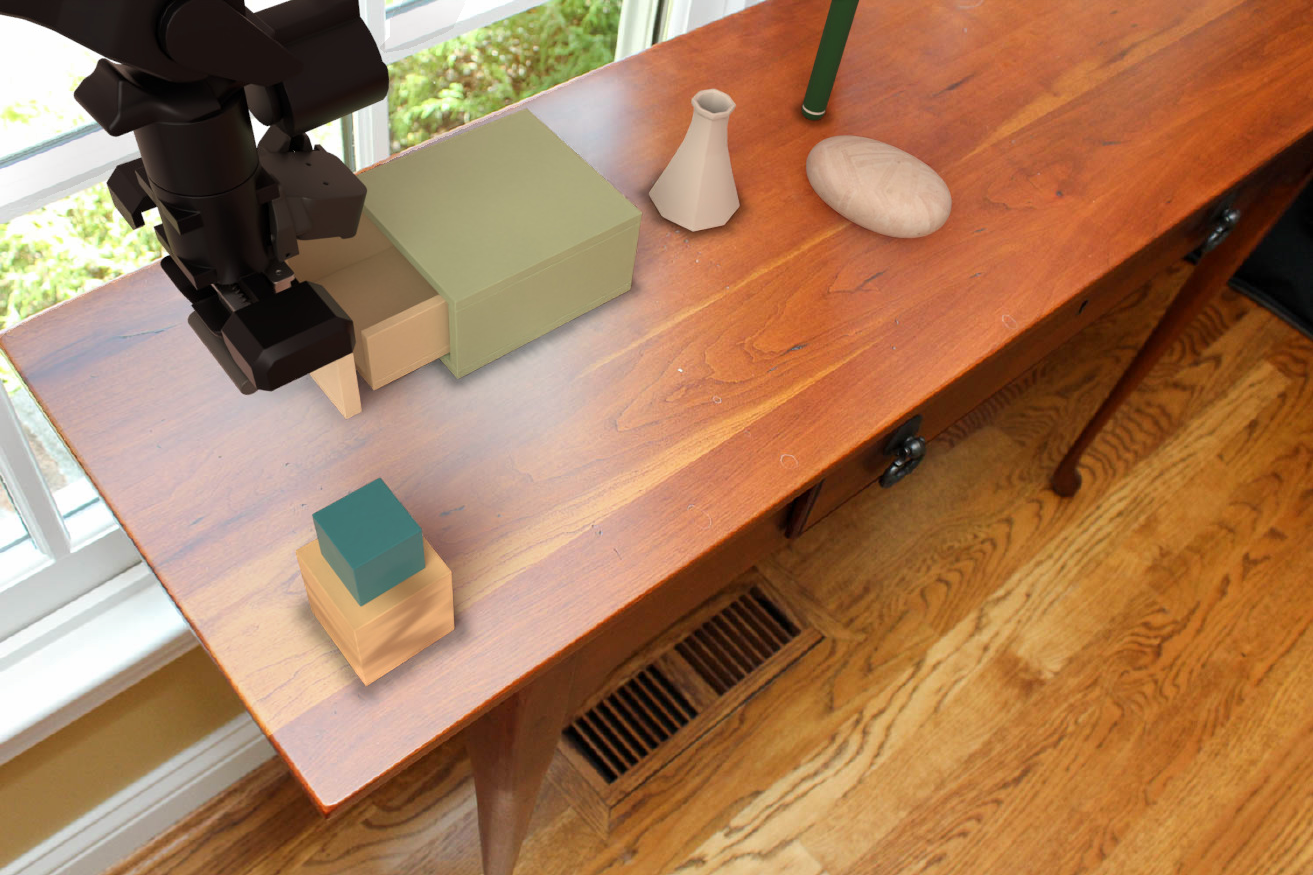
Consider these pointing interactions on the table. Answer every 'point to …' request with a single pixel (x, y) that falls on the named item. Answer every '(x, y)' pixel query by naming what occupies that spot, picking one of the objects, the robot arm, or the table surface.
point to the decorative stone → (878, 186)
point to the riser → (380, 613)
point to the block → (370, 541)
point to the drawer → (361, 314)
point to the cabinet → (506, 233)
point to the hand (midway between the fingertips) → (252, 353)
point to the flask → (700, 169)
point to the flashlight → (828, 57)
